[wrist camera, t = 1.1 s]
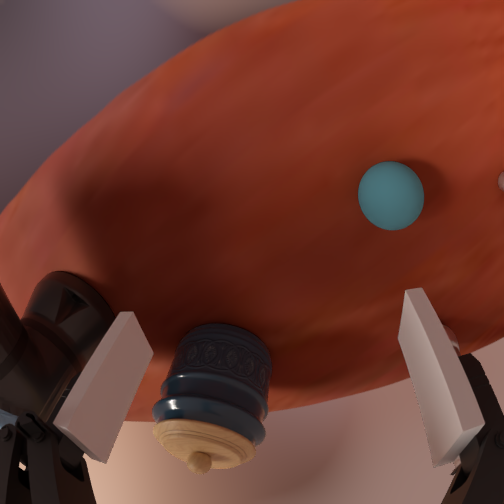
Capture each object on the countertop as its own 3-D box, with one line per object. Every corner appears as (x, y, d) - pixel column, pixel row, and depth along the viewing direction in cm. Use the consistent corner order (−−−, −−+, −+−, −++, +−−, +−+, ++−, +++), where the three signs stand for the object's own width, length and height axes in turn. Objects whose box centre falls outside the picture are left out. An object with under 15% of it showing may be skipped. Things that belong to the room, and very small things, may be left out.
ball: (353, 217, 28) (367, 245, 23) (349, 157, 26) (365, 172, 20) (409, 212, 27) (432, 238, 22) (409, 154, 25) (436, 168, 19)
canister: (262, 315, 35) (242, 453, 20) (280, 381, 41) (270, 493, 26) (165, 323, 38) (112, 437, 23) (197, 384, 44) (168, 483, 28)
